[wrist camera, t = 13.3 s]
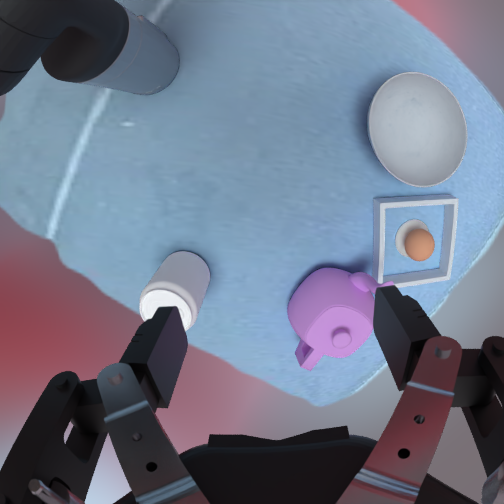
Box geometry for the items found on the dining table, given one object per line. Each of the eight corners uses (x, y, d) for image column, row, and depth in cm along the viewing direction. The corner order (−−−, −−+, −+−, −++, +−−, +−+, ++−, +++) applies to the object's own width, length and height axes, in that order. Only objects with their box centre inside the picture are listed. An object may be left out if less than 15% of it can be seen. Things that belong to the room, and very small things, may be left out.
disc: (395, 220, 44) (396, 221, 43) (429, 218, 43) (430, 218, 43) (394, 258, 46) (394, 259, 46) (426, 254, 45) (427, 255, 45)
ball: (400, 225, 43) (413, 236, 39) (426, 223, 43) (441, 233, 38) (398, 254, 45) (410, 268, 41) (424, 251, 45) (438, 264, 40)
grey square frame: (373, 198, 42) (380, 203, 40) (448, 194, 41) (458, 198, 38) (372, 281, 48) (377, 290, 45) (442, 271, 46) (449, 279, 44)
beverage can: (162, 246, 47) (133, 281, 36) (212, 252, 47) (196, 291, 36) (163, 290, 50) (138, 332, 39) (209, 297, 50) (195, 343, 39)
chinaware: (454, 125, 37) (482, 127, 30) (406, 196, 42) (429, 209, 35) (385, 60, 34) (407, 49, 27) (332, 135, 39) (345, 136, 32)
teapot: (396, 269, 47) (423, 304, 37) (325, 351, 54) (334, 395, 44) (336, 227, 45) (355, 256, 34) (265, 321, 52) (263, 365, 41)
